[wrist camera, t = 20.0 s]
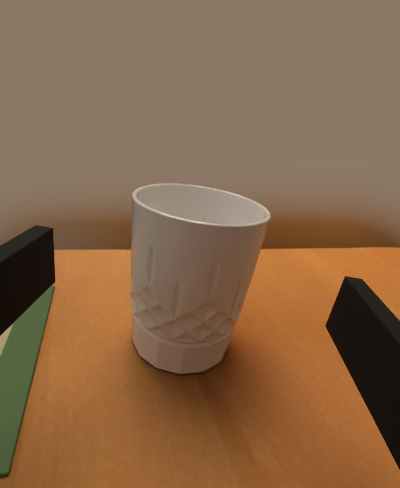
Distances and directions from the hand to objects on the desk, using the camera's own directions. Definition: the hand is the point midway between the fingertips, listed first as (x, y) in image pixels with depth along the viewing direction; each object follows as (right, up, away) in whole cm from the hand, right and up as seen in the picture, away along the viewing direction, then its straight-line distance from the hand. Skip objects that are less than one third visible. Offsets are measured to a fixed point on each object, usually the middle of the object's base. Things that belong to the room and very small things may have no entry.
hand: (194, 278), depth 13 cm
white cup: (-1, -5, +8) cm, 9 cm away
